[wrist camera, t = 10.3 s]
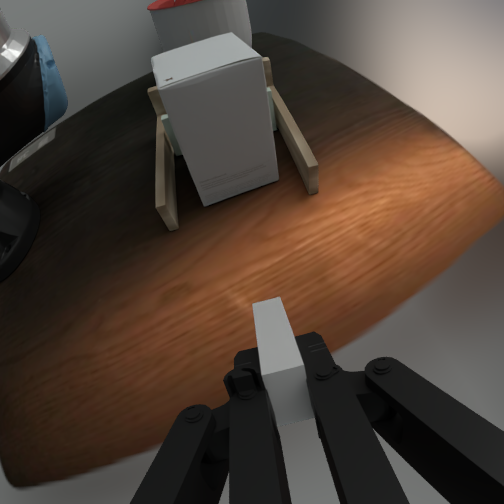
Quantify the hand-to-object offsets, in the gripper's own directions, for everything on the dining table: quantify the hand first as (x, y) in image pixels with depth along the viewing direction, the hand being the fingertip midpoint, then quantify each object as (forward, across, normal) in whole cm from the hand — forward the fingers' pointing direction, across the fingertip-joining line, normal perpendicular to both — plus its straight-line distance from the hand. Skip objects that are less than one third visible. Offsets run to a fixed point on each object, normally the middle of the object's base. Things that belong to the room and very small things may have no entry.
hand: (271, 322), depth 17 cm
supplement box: (+22, 0, +9) cm, 24 cm away
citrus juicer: (+42, +1, +28) cm, 50 cm away
